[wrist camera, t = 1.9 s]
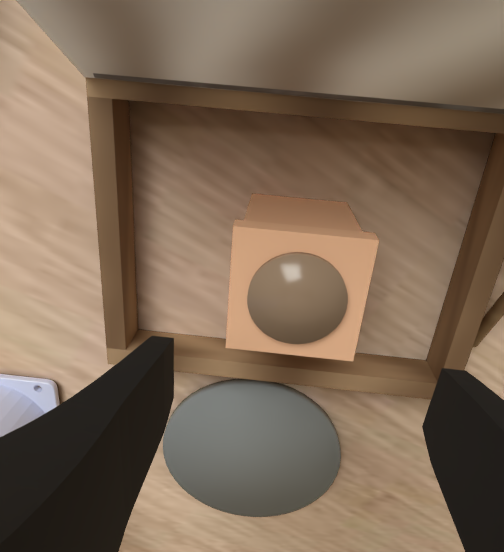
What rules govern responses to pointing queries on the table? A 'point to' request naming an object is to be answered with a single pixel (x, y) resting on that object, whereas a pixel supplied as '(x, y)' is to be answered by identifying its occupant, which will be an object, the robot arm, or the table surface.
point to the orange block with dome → (298, 278)
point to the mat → (252, 448)
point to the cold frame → (294, 101)
